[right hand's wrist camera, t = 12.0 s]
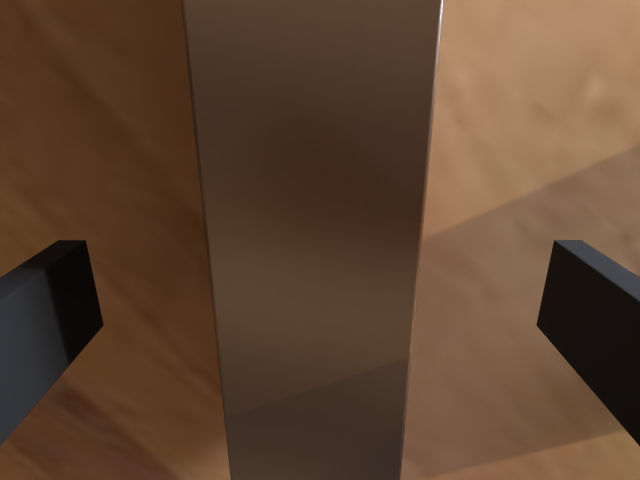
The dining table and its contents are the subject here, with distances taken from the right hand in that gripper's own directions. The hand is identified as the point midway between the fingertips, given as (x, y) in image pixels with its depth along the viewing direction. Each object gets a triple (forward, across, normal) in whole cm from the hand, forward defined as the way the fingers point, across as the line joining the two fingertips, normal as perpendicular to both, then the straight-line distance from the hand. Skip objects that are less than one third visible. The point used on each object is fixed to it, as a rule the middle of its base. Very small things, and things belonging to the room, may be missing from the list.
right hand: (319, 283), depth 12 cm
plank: (+5, 0, -26) cm, 26 cm away
